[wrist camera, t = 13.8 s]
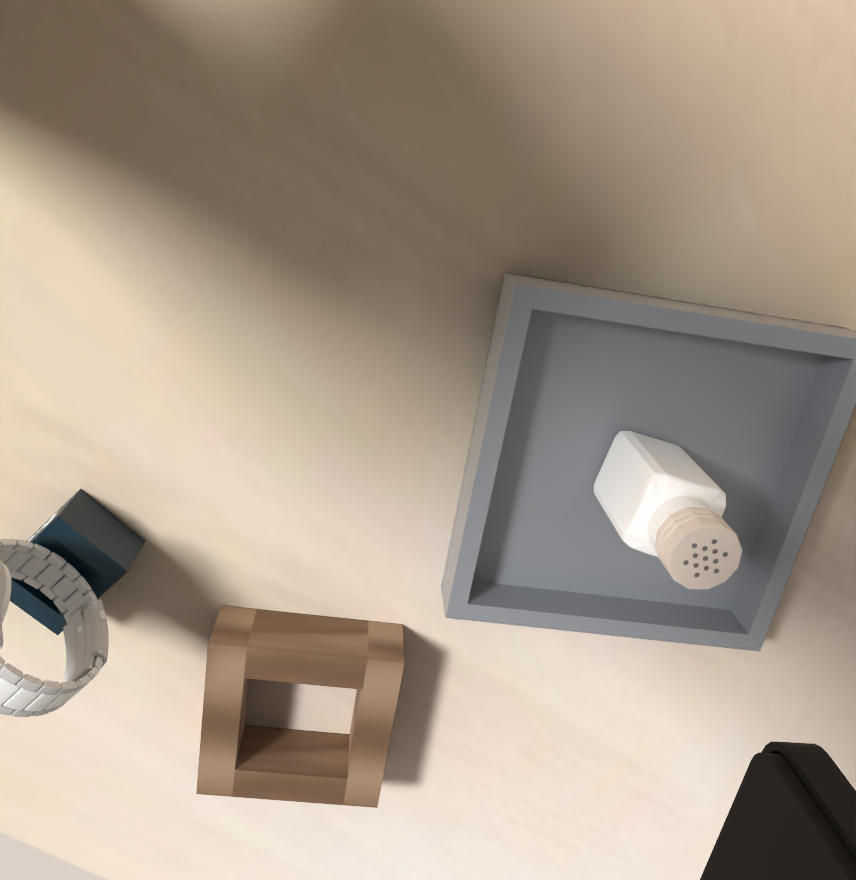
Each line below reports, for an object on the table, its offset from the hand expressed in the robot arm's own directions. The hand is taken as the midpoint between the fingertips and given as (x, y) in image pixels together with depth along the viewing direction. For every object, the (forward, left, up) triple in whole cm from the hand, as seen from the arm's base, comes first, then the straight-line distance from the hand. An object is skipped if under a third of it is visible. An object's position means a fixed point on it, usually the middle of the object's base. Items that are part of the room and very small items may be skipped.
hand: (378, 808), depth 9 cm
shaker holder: (+24, -1, -30) cm, 39 cm away
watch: (+16, -14, -31) cm, 37 cm away
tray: (+7, +15, -30) cm, 35 cm away
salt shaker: (+7, +15, -30) cm, 34 cm away
